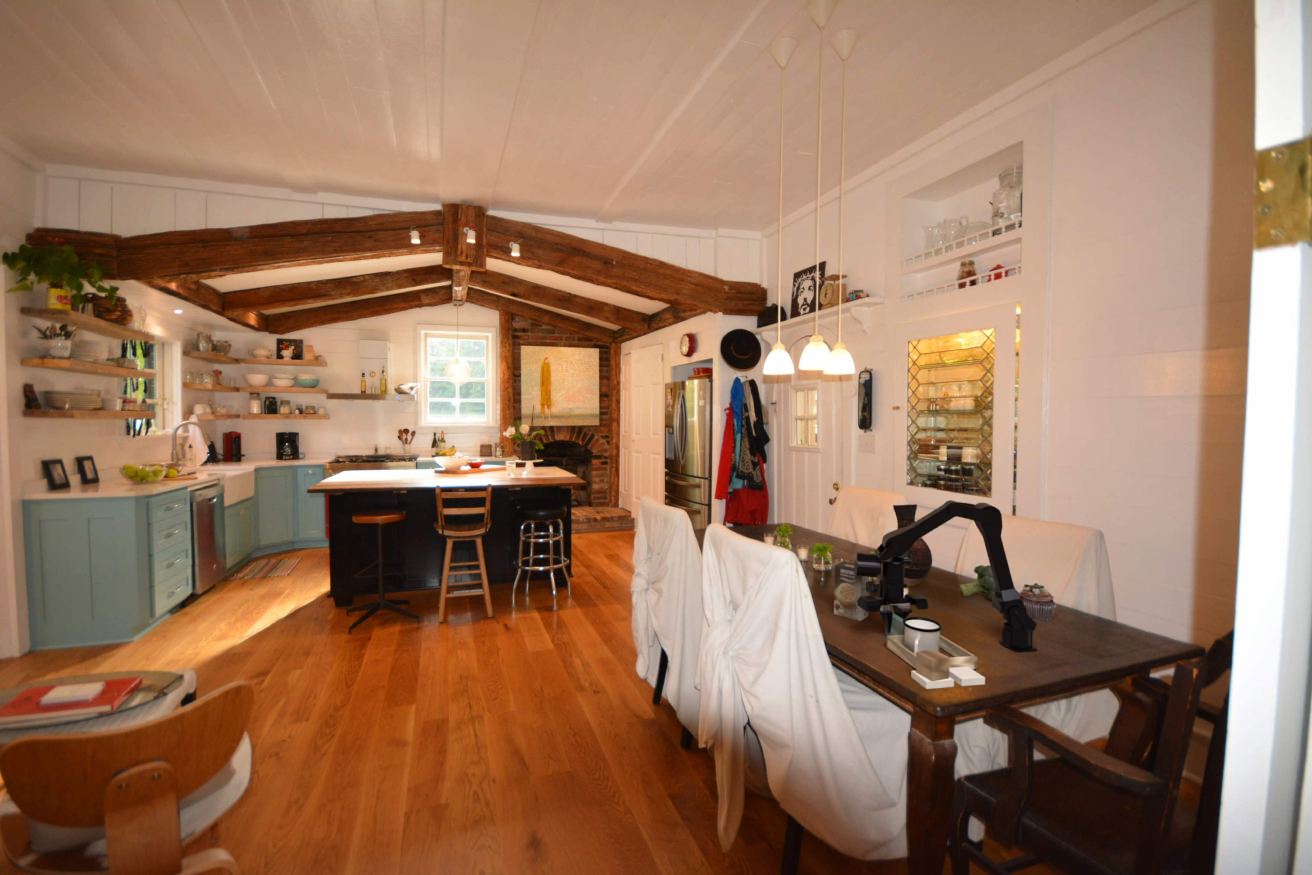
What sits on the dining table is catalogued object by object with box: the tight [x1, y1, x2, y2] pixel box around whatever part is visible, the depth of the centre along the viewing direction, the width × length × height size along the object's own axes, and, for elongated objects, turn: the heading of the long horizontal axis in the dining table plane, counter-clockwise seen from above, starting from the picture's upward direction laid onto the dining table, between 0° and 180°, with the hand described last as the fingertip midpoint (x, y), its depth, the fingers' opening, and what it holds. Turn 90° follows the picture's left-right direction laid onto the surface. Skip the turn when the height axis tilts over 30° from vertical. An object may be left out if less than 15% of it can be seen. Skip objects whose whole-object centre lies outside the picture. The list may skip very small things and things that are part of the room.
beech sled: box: [884, 612, 978, 670], centre depth 155 cm, size 15×24×6 cm, turn 9°
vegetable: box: [959, 564, 995, 602], centre depth 198 cm, size 12×13×15 cm
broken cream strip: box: [910, 667, 986, 690], centre depth 138 cm, size 15×6×2 cm, turn 99°
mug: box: [902, 616, 943, 654], centre depth 150 cm, size 12×10×9 cm
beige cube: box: [915, 649, 950, 681], centre depth 138 cm, size 5×5×5 cm
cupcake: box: [1019, 583, 1057, 622], centre depth 181 cm, size 10×10×10 cm
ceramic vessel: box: [881, 503, 933, 587], centre depth 215 cm, size 21×18×30 cm
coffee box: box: [833, 560, 870, 622], centre depth 182 cm, size 9×6×16 cm
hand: (891, 632), depth 165 cm, fingers closed on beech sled, 2 cm apart
